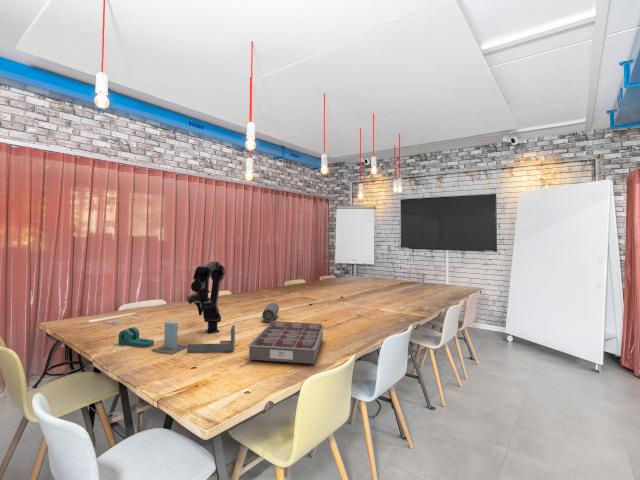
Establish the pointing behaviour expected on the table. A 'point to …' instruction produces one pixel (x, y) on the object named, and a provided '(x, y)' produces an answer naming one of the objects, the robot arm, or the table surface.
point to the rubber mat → (169, 351)
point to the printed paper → (114, 317)
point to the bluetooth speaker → (270, 312)
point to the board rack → (214, 345)
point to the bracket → (133, 339)
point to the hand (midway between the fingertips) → (202, 317)
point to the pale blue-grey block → (171, 335)
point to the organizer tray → (287, 342)
